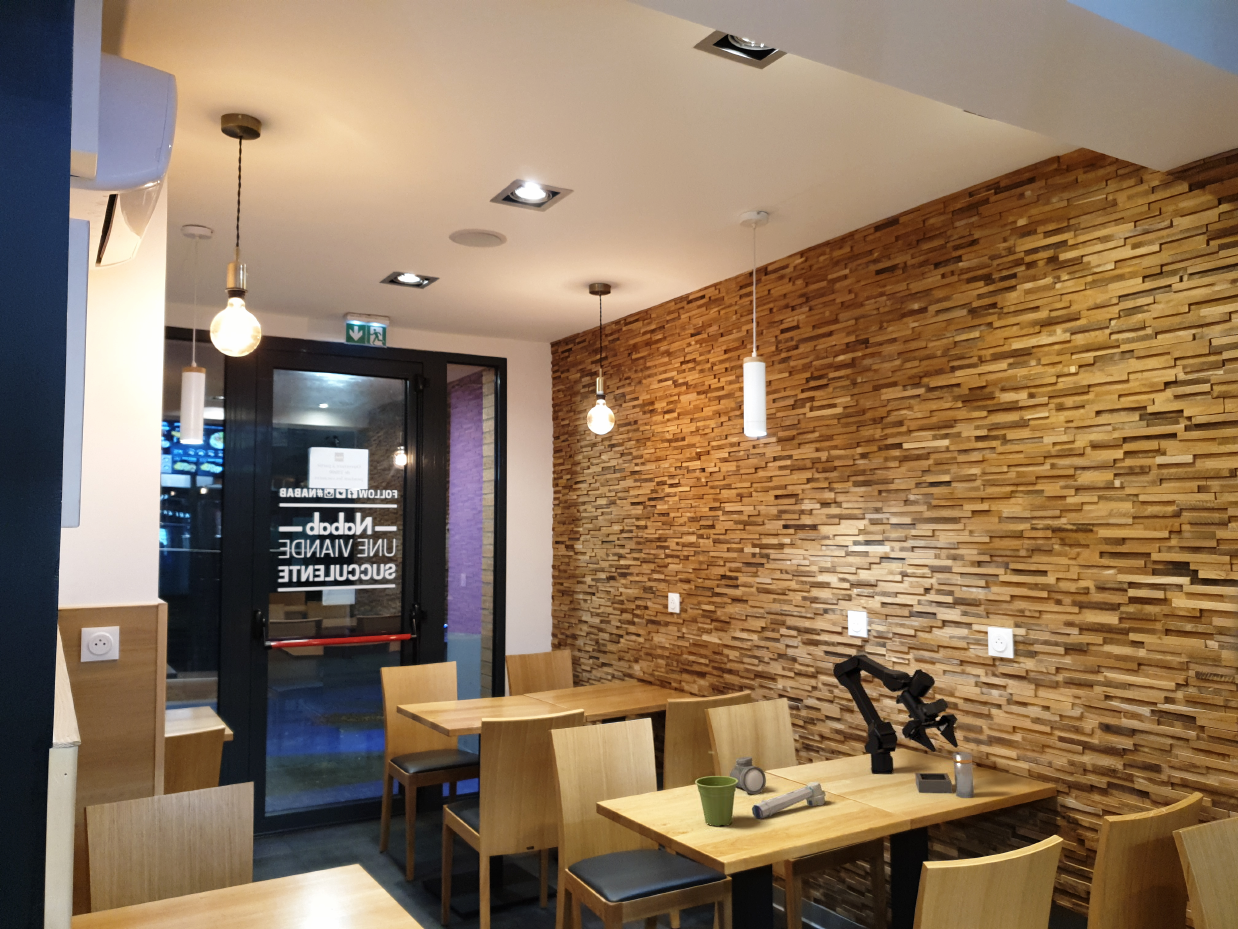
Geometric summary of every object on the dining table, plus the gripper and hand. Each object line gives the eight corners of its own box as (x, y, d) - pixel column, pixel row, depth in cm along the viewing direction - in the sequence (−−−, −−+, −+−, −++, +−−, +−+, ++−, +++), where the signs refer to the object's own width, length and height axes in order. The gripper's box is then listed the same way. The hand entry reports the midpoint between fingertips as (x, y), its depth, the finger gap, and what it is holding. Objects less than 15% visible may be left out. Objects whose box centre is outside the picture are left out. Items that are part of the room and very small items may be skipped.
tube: (957, 798, 268) (954, 755, 269) (954, 793, 273) (951, 751, 274) (975, 798, 266) (973, 756, 267) (973, 793, 272) (970, 752, 273)
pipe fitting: (769, 791, 280) (763, 756, 282) (746, 797, 277) (740, 762, 279) (750, 786, 291) (744, 753, 293) (728, 792, 288) (722, 758, 290)
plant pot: (742, 817, 257) (740, 775, 258) (737, 830, 245) (735, 787, 246) (700, 815, 260) (698, 774, 261) (693, 828, 248) (692, 786, 249)
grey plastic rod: (749, 802, 257) (814, 775, 271) (752, 826, 257) (817, 797, 271) (761, 807, 253) (827, 778, 267) (765, 831, 253) (830, 801, 267)
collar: (919, 792, 274) (918, 780, 275) (915, 784, 283) (915, 772, 284) (952, 793, 272) (951, 781, 273) (947, 785, 281) (947, 773, 282)
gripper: (906, 693, 278) (936, 736, 267) (950, 687, 287) (981, 728, 276) (889, 716, 284) (918, 759, 273) (932, 709, 293) (962, 751, 282)
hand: (946, 749), depth 276 cm, fingers open, 9 cm apart
